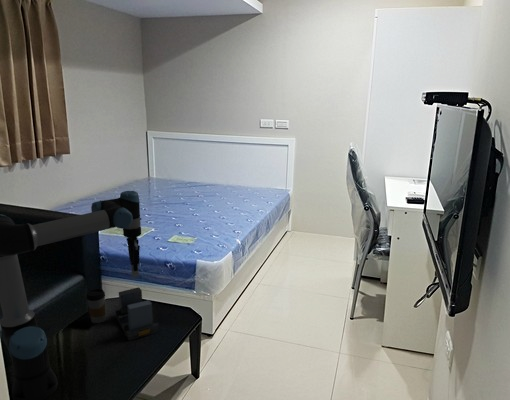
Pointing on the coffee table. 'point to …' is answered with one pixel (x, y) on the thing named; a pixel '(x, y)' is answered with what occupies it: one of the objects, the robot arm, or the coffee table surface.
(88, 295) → the coffee cup
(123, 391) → the coffee table surface
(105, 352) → the coffee table surface
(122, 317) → the rack
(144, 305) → the gray rectangular block
